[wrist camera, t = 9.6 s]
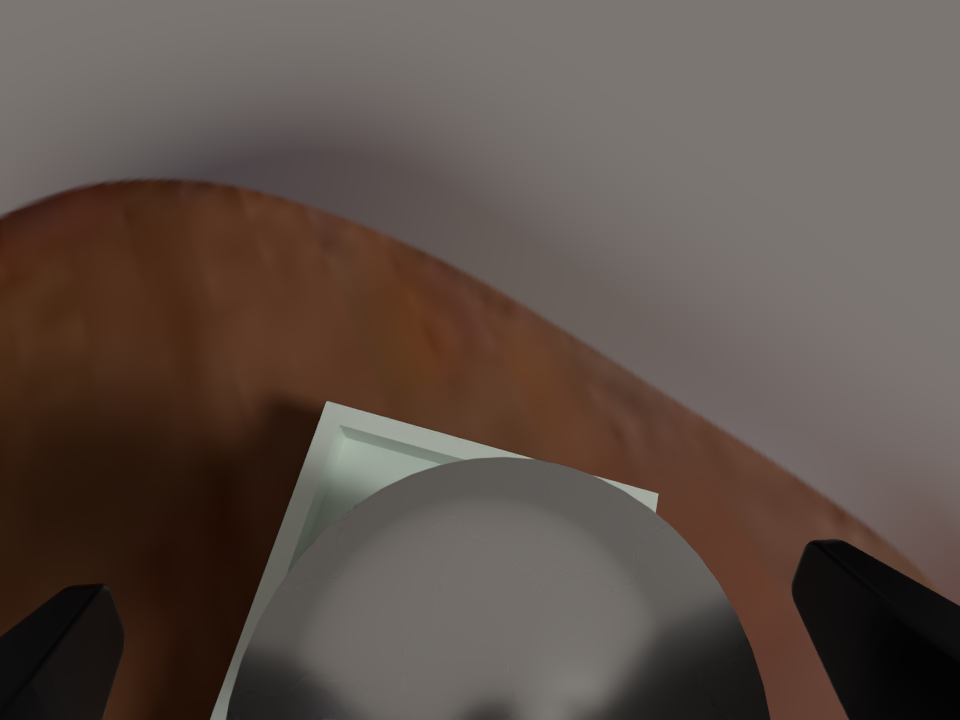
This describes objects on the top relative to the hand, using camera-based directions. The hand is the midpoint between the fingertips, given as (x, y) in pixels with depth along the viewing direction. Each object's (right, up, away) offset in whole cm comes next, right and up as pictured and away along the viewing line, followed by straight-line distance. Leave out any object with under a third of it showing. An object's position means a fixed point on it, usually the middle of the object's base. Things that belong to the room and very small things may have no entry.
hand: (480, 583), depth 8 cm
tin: (-1, -5, +10) cm, 12 cm away
